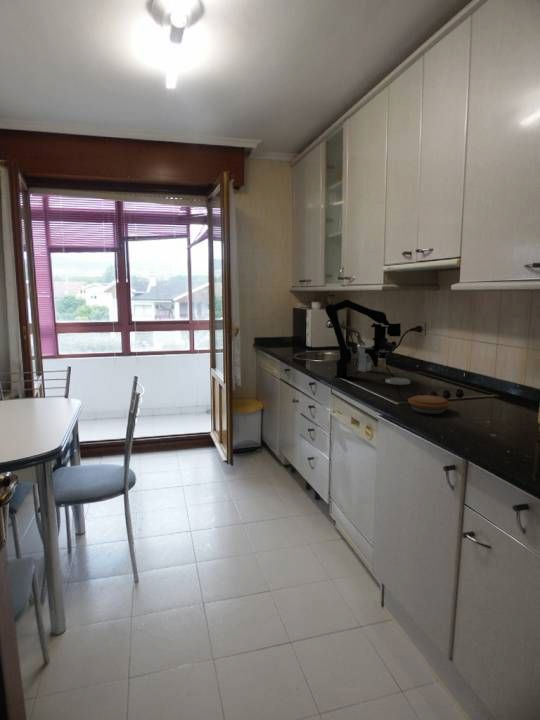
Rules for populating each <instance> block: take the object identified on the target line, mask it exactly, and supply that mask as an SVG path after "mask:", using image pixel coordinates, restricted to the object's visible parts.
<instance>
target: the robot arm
mask: <svg viewBox="0 0 540 720" xmlns="http://www.w3.org/2000/svg"><path fill="white" fill-rule="evenodd" d="M346 308H347V309H350V310H352V311H355V312H358V313H359V314H363V315H364V316H367V317H368V318H370V319H371V320H373V321H374V322H373V323H372V324H371V325H370V328H374V331H373V332H374V333H373V337H372V339H371V340H372V341H373V345H371V346H372V348H366V349H365V354H368V355H370V357H371V359H372V361H373V364H374V366H375V367H377V364H378V358H384V359H387V355H389V354H390V353H392V352H395V350H396V349H398V347H397V345H398V344H397V341H396V340H394V341H391V342H389V340H388V338H387V337H386V336H387V335H388V336H389V337H394V338H396V337H398V338H400V337H401V334H402V333H401V332H402V329H401V323H400V322H397V323H390V321H389V320H388V319H387V314H386V313H385V312H384V311H382V310H378V309H377V310H376V309H372V308H369V307H367V306H364V305H361V304H359V303H357V302H355V301H352V300H350V299H343V301H340V302H337V303H329V304H327V305H326V307H325V311H324V312H325V313H326V315H327V317H328V319H329V321H331V324H332V327H333V330H334V331H333V332H334V334H335V337H336V341H337V345H338V348H339V359H337V361H336V374H335V375H333V377H335V378H341V379H346V378H351V375H349V370H350V369H349V367H350V366H349V363H351V362H352V360H353V357H354V353H353V350H352V349H353V348H352V347H349V346H348V344H347V341H346V338H345V336H344V332H343V329H342V325H341V321H340V316H339V311H340V310H344V309H346ZM375 322H376V323H375ZM382 324H383V325H382Z"/></svg>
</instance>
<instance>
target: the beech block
mask: <svg viewBox="0 0 540 720" xmlns="http://www.w3.org/2000/svg"><path fill="white" fill-rule="evenodd" d="M386 361H387V358H385V359H384V358H379V357H378V364H377V367H375V366H374V364H373V361H372V365H371V369H374V370H383V369H386V367H387V366H386V364H387V362H386Z"/></svg>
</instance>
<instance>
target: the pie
mask: <svg viewBox="0 0 540 720" xmlns="http://www.w3.org/2000/svg"><path fill="white" fill-rule="evenodd" d="M407 402H408V404H409V405H410V406H411V408H412V410H413V411H415V412H417V413H420V414H427V415H437V414H438V415H440V414H443V413H445V411H446V410H447V408H448V407H450V405H451V402H450V401H449V400H447V399H446V398H444V397H441V396H436V395H425V394H419V395H414V396H411V397H409V398H408V399H407Z"/></svg>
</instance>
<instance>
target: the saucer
mask: <svg viewBox="0 0 540 720" xmlns="http://www.w3.org/2000/svg"><path fill="white" fill-rule="evenodd" d="M384 381H385V383H386V384H388V385H389V384H390V385H393V386H394V385H395V386H406V385H410V384H411V380H410V379H408V378H404V377H387V378H385V380H384Z"/></svg>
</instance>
